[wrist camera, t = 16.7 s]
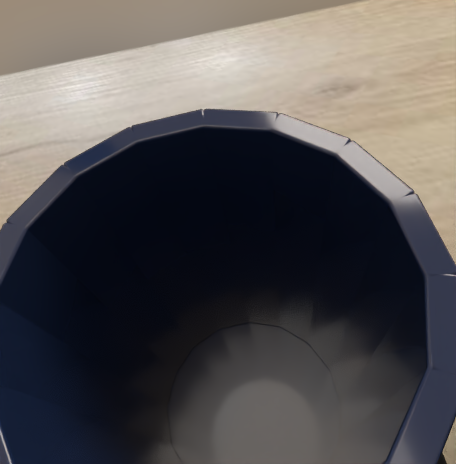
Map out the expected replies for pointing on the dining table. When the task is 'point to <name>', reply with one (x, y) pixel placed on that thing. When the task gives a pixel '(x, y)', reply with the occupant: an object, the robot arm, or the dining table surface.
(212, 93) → the dining table surface
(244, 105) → the dining table surface
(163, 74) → the dining table surface
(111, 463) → the cup
